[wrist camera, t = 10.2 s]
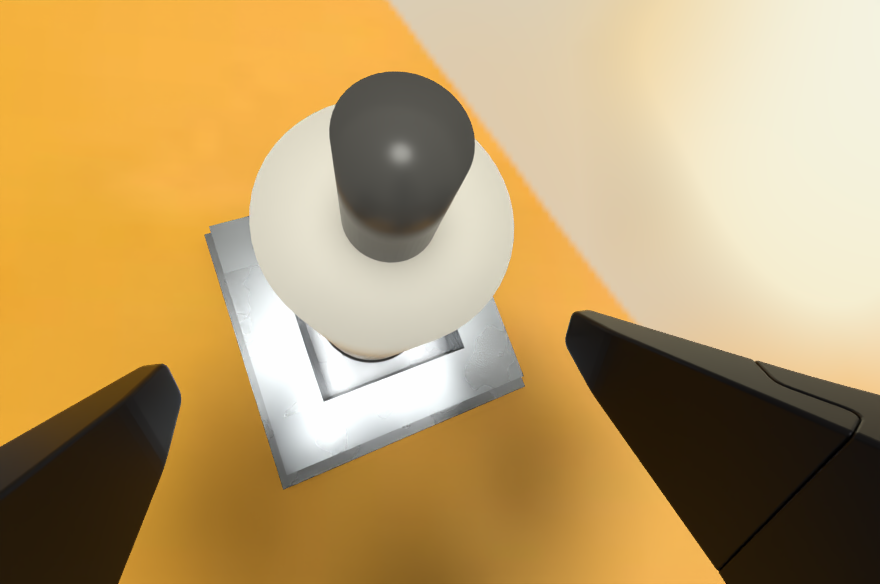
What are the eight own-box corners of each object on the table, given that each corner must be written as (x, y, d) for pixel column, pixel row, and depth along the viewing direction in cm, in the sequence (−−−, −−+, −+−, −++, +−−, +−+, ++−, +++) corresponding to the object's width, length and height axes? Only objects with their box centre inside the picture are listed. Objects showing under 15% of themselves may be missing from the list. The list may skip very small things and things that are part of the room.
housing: (520, 385, 21) (552, 389, 17) (285, 485, 18) (267, 514, 14) (439, 176, 22) (454, 140, 18) (209, 238, 19) (174, 210, 16)
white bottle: (418, 363, 19) (610, 349, 4) (319, 363, 18) (139, 345, 4) (419, 270, 20) (583, -4, 5) (325, 266, 19) (199, -77, 4)
